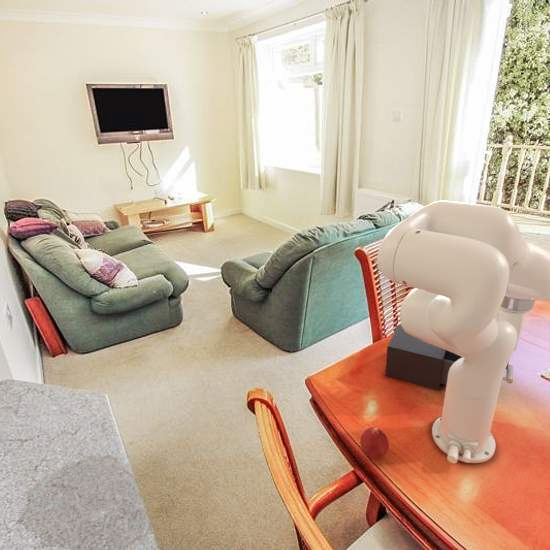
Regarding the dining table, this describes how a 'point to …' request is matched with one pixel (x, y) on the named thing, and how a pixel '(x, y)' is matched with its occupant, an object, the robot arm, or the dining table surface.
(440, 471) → the dining table surface
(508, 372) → the basket
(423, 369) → the dark grey box
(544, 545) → the dining table surface
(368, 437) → the onion
